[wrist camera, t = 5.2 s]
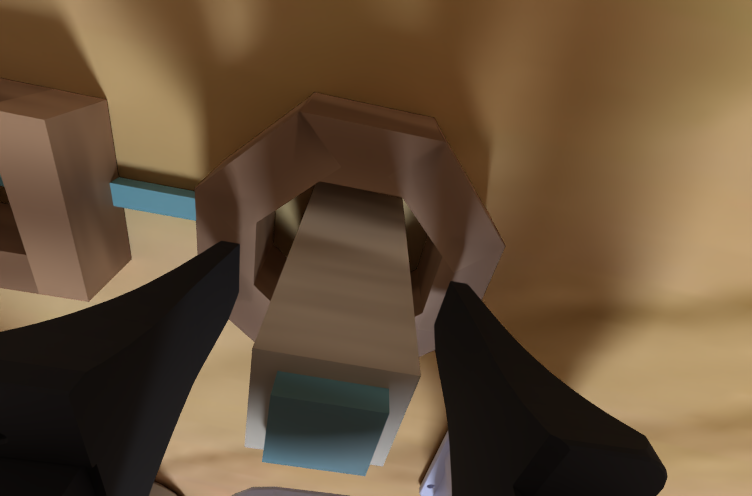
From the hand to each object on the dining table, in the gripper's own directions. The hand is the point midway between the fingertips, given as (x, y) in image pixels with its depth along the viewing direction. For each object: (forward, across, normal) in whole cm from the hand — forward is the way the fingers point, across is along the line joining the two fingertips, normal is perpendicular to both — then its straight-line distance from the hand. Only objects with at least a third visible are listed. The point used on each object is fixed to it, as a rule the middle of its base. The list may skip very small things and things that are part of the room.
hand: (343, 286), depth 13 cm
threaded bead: (+4, +13, 0) cm, 14 cm away
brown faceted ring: (+4, 0, 0) cm, 4 cm away
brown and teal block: (+4, 0, 0) cm, 4 cm away
